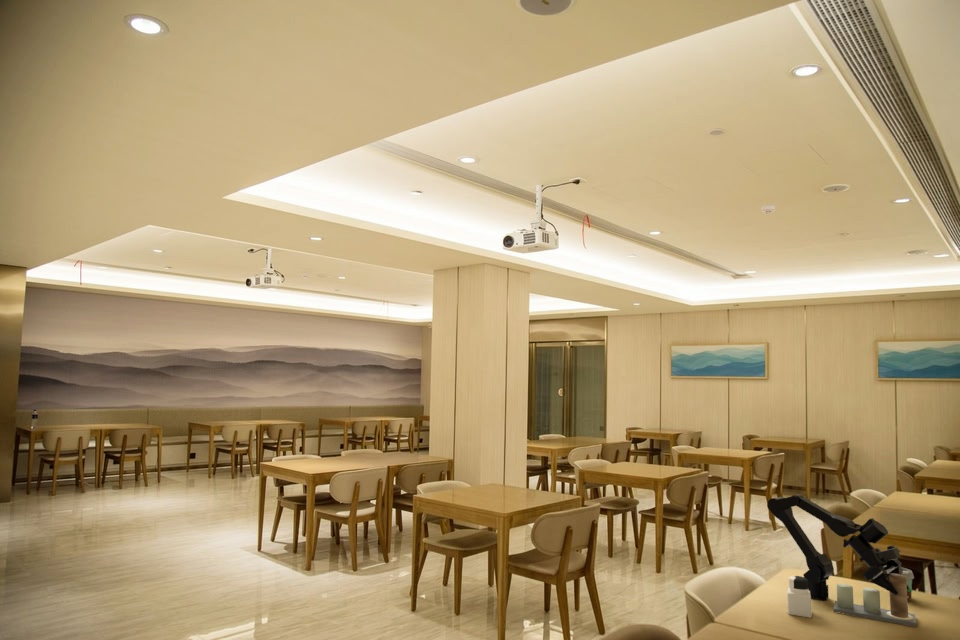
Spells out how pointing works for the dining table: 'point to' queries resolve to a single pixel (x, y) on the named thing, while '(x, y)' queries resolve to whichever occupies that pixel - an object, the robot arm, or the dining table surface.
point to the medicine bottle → (799, 597)
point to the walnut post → (899, 596)
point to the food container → (908, 580)
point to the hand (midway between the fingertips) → (902, 591)
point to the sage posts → (869, 598)
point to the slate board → (877, 615)
